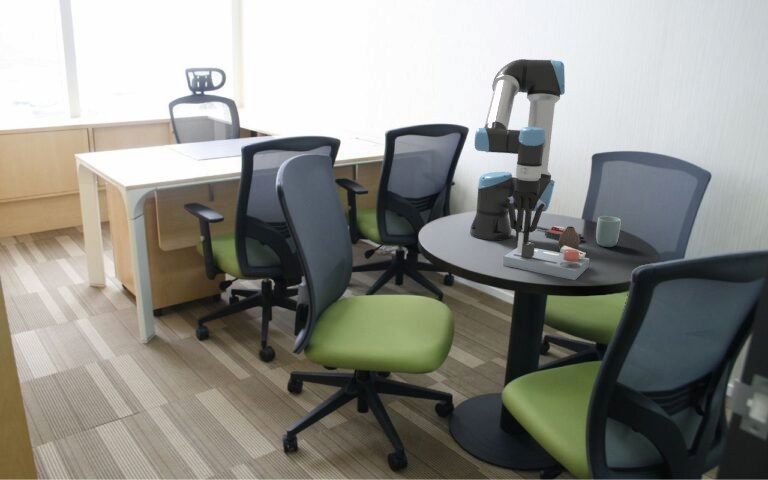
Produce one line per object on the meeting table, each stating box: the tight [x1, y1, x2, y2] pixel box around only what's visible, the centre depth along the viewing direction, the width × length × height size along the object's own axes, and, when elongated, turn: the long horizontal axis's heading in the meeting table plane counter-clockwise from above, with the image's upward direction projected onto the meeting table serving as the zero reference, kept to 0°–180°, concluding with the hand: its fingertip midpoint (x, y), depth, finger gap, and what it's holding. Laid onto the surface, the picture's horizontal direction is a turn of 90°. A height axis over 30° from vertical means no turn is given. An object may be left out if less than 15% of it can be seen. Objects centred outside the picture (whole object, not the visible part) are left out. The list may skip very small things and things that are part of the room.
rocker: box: [559, 246, 587, 259], centre depth 202 cm, size 7×4×1 cm, turn 58°
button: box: [563, 249, 580, 262], centre depth 194 cm, size 4×4×3 cm
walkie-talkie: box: [536, 225, 585, 242], centre depth 237 cm, size 9×4×20 cm
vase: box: [558, 225, 581, 250], centre depth 218 cm, size 7×7×9 cm
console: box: [502, 247, 590, 281], centre depth 203 cm, size 23×15×4 cm, turn 58°
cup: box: [595, 215, 622, 248], centre depth 227 cm, size 8×8×10 cm
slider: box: [521, 241, 536, 258], centre depth 201 cm, size 3×3×4 cm
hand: (520, 251), depth 202 cm, fingers closed
